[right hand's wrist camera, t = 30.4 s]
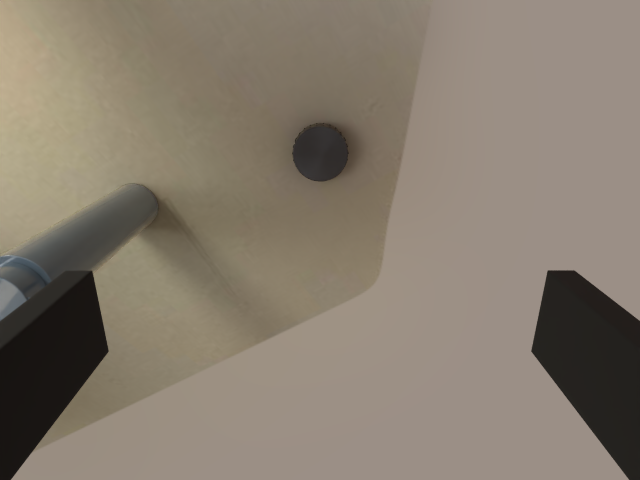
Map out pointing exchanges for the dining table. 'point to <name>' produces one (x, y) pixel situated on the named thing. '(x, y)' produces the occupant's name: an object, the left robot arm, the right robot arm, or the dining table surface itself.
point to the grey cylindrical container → (75, 243)
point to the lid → (320, 152)
